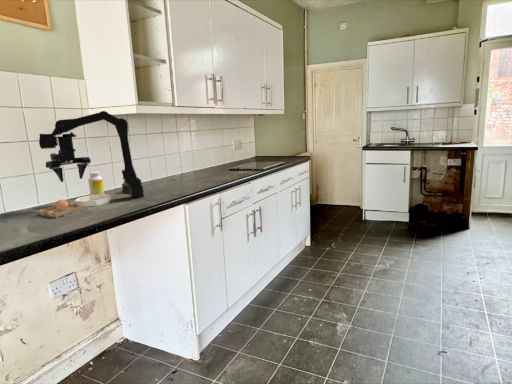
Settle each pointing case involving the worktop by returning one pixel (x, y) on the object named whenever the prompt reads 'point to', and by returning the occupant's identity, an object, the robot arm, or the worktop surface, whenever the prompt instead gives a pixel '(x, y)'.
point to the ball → (62, 205)
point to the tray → (57, 213)
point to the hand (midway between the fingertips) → (71, 180)
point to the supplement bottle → (95, 184)
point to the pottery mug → (125, 188)
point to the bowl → (93, 200)
